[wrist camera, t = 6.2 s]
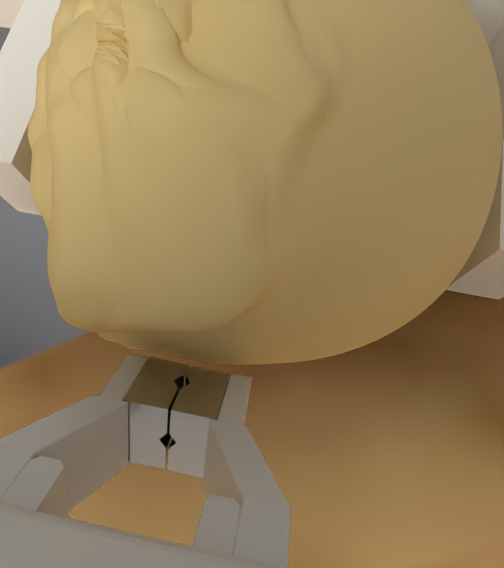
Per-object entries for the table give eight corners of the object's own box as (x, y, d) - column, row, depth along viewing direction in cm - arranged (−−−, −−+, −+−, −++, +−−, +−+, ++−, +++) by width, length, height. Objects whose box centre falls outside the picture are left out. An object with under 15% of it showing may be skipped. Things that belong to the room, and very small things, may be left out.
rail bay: (612, 81, 19) (788, -89, 13) (624, 323, 16) (868, 256, 10) (12, -6, 21) (-94, -189, 15) (-85, 192, 18) (-272, 66, 12)
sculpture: (111, 124, 19) (-66, -231, 9) (386, 99, 19) (534, -280, 9) (111, 396, 15) (-183, 343, 5) (448, 362, 16) (810, 244, 5)
